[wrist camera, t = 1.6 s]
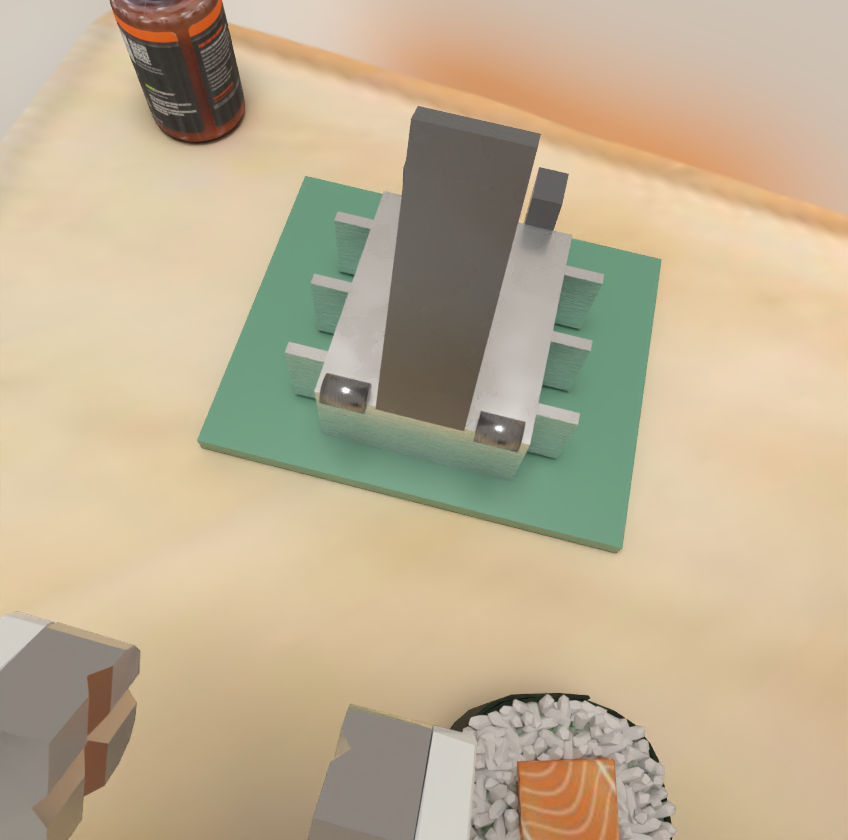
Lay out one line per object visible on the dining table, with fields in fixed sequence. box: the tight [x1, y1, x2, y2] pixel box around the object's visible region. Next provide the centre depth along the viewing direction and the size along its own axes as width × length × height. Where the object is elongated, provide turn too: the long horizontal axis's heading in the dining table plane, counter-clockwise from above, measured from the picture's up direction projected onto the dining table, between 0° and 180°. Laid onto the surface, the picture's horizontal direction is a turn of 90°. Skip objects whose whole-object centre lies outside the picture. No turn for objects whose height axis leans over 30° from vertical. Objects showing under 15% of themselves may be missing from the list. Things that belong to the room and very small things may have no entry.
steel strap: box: [376, 106, 541, 431], centre depth 27 cm, size 4×13×1 cm
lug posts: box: [403, 162, 569, 231], centre depth 39 cm, size 8×2×7 cm, turn 76°
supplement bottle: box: [110, 0, 245, 142], centre depth 42 cm, size 6×6×11 cm
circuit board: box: [197, 176, 661, 553], centre depth 40 cm, size 22×18×1 cm
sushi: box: [450, 693, 677, 840], centre depth 28 cm, size 8×8×8 cm
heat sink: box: [285, 191, 604, 481], centre depth 37 cm, size 14×13×6 cm
